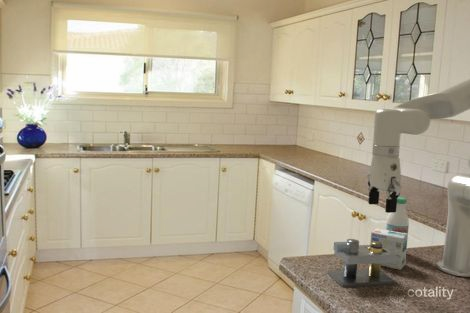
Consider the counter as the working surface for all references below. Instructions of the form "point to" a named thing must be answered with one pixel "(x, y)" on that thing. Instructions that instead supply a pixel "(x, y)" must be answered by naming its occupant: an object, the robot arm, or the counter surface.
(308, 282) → the counter surface
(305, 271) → the counter surface
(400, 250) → the light bulb box
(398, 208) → the milk bottle
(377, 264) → the pin
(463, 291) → the counter surface
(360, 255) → the grey metal stand
